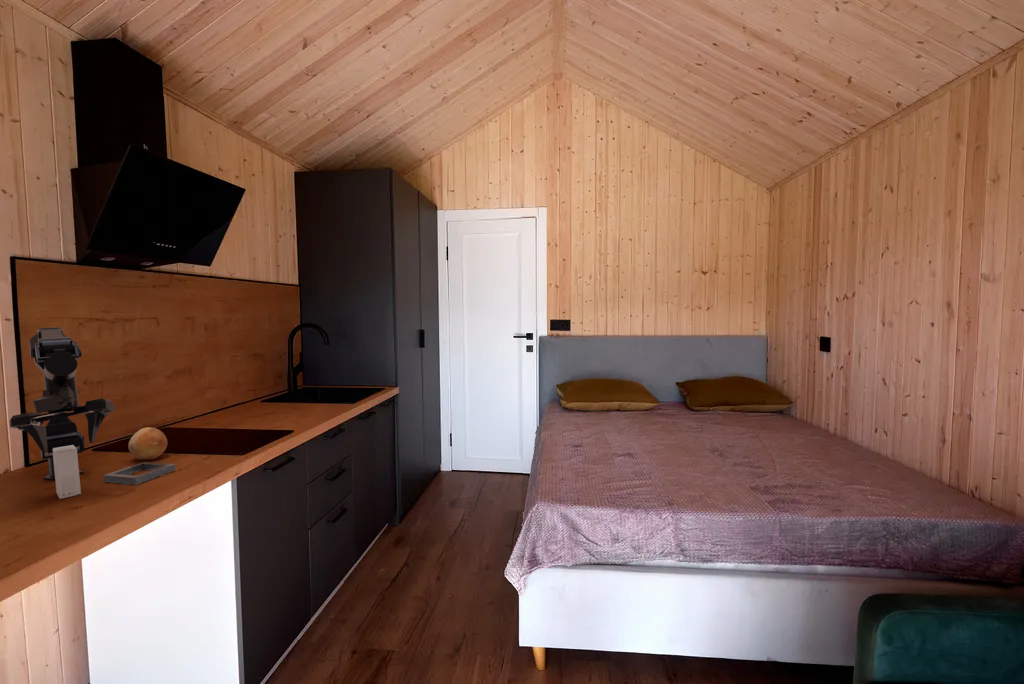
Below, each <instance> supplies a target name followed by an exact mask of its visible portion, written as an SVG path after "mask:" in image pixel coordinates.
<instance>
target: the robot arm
mask: <svg viewBox="0 0 1024 684" xmlns="http://www.w3.org/2000/svg"><path fill="white" fill-rule="evenodd" d="M36 330H37V333H36V334H35V335H33V336H32V337H31V338H29V341H28V343H29V345H28V346H29V355H30V359H33V360H34V366H35V367H36V368H37V369H38V370H39V371H40V372H42V373H43V374H42V375H43V382H44V389H43V390H42V397H41V396H40V397H39V398H36V399H33V400H32V404H33V407H34V410H35V413H34V412H25V413H20V414H14V415H12V416H11V417H10V419H9V428H11V429H17V430H18V431H24V432H26V433H28V435H30V437H31V438H32V439H33V440H34V441H35V444H36V445H37V446H38V448H39V449H40V455H41V459H42V460H47V463H48V464H47V465H48V471H49V473H48V475H45V476H43V478H46V479H45V480H53V479H55V471H54V460H53V448H58V447H64V446H70V445H74V446H75V447H76V448H77V454H81V453H83V452H85V450H86V449H85V436H84V435H83V434H82V433H81V431H78V427H77V425H76V423H75V422H74V421H72V420H71V419H70V418H69V417H73V416H77V415H83V414H84V415H85V417H86V420H87V432H88V433H87V435H88V440H89V444H93V443H94V442H95V440H96V437H97V435H98V431H99V429H100V427H101V425H102V423H103V421H104V419H105V418H106V417H108V416H110V413H111V412H115V411H116V410H115V408H116V407H115V404H114V402H113V401H112V400H109V399H106V398H98V399H93V400H88V401H86V402H85V404H84V405H81V404H79V396H78V395H80V389H78V388H77V382H76V381H77V380H76V373H77V369H78V360H80V358H81V357H82V355H83V354H82V350H81V348H80V347H81V346H80V345H79V344H78V342H76V341H73V337H71V336H68V335H66V334H64V333H63V328H62V327H58V326H55V327H40V328H37V329H36ZM44 422H47V424H46V425H43V424H44ZM83 472H84V473H85V470H81V469H79V475H81V474H83ZM80 473H81V474H80ZM43 478H42V479H43Z"/></svg>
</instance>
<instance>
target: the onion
mask: <svg viewBox="0 0 1024 684" xmlns="http://www.w3.org/2000/svg"><path fill="white" fill-rule="evenodd" d="M167 447H168V438H167V436H166V435H165V433H164V432H163V431H161V430H160V429H157V428H155V427H143V428H141V429H139V430H138V431H136V432H135V433H134V434H132V437H131V438H130V440H129V441H128V450H129V452H130V454H131V455H132V456H133V457H134V458H136V459H137V460H155V459H157V458H158V457H160V456H161V455H162V454H163V453H164V452H166V449H167Z"/></svg>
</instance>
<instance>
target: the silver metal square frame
mask: <svg viewBox="0 0 1024 684" xmlns="http://www.w3.org/2000/svg"><path fill="white" fill-rule="evenodd" d="M141 470H152V471H147V472H146V471H145V472H144V473H141V474H138V475H134V474H132V473H135V472H138V471H141ZM174 470H175V471H176V464H175V463H167V462H166V463H163V462H153V461H151V462H150V461H142V462H140V463H136V464H134V465H130V466H127V467H124V468H121V469H118V470H115V471H112V472H109V473H106V474H103V475H102V476H103V477H102V478H103V482H104V483H105V482H111V483H110V484H116V483H121V484H120V485H127V484H135V485H134V486H138V485H137V484H139V485H141V484H140V483H142V482H144V483H146V482H145V481H147V482H149V481H148V480H150V479H152V480H154V479H153V478H155V479H157V478H156V477H158V476H160V477H162V476H161V475H163V474H166V473H169V472H171V471H174ZM175 471H174V472H175ZM141 472H142V471H141ZM138 473H139V472H138ZM171 473H172V472H171ZM130 474H132V475H130ZM135 474H136V473H135ZM169 474H170V473H169ZM166 475H167V474H166ZM163 476H164V475H163ZM158 478H159V477H158ZM150 481H151V480H150ZM142 484H143V483H142Z"/></svg>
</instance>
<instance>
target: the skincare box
mask: <svg viewBox="0 0 1024 684" xmlns="http://www.w3.org/2000/svg"><path fill="white" fill-rule="evenodd" d="M77 448H78V447H77ZM77 448H76V447H75V446H74V445H70V446H64V447H58V448H53V460H54V471H55V481H54V482H55V489H56V490H55V491H56V494H57V497H58V499H60V500H61V499H66V498H71V497H75V496H79V495H81V494H82V489H81V480H80V474H79V470H80V468H79V459H78V457H79V456H78V453H77ZM78 494H79V495H78Z"/></svg>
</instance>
